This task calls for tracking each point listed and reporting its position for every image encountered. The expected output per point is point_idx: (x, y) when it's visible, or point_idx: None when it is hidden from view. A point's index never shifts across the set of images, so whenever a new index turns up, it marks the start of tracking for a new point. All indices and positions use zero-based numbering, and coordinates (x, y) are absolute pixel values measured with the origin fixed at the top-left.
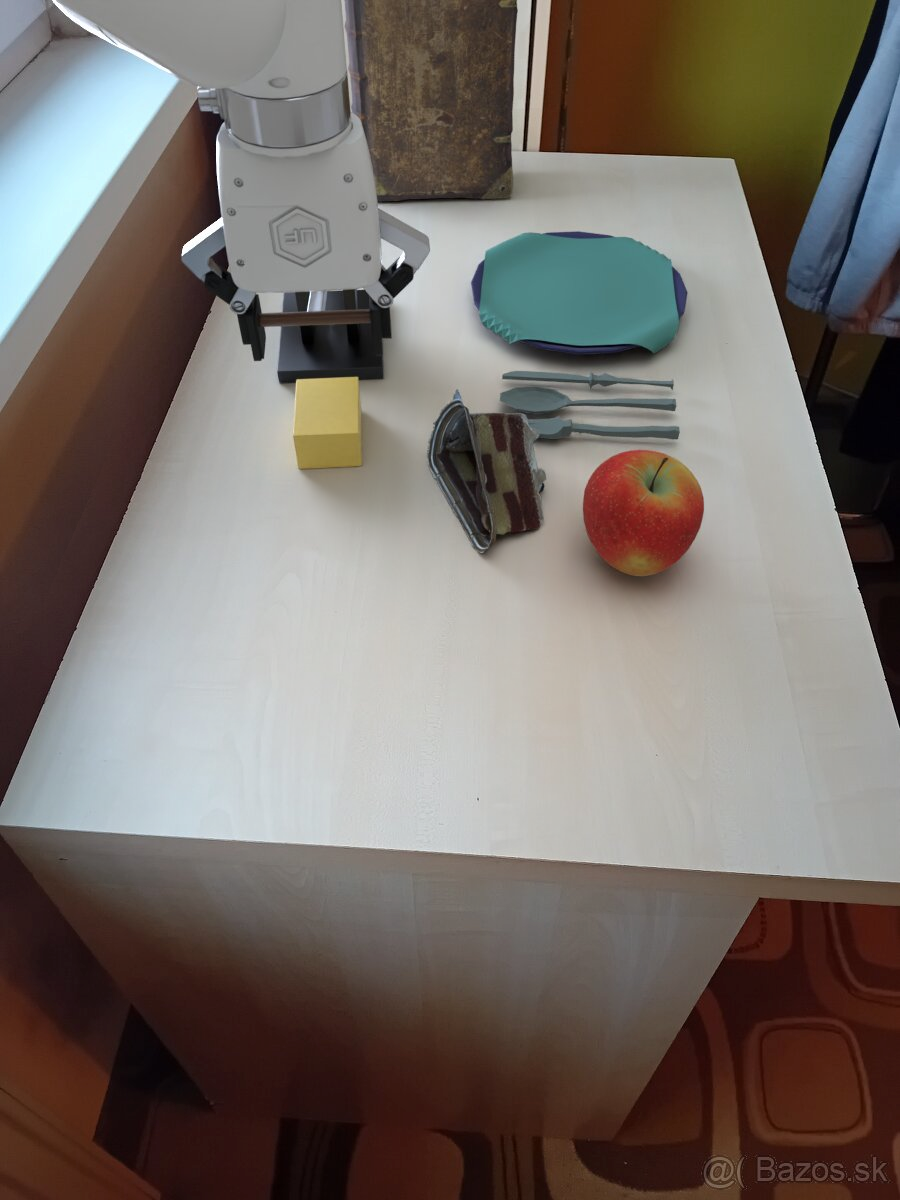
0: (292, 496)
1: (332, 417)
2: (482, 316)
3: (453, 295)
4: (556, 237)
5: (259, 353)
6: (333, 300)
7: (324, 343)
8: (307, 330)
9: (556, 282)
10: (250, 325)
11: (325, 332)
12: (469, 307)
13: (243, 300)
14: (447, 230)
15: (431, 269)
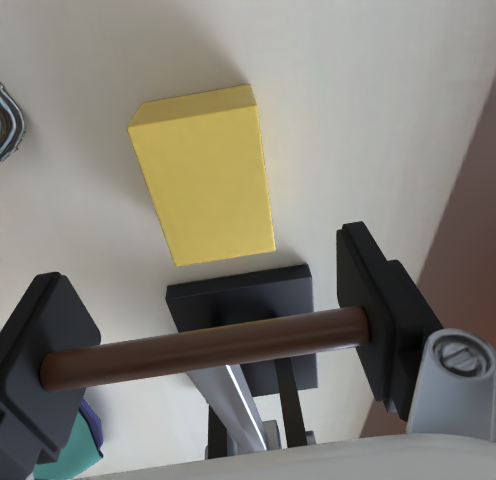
0: (247, 2)
1: (191, 167)
2: None
3: (128, 403)
4: (36, 477)
5: (351, 235)
6: (257, 384)
7: None
8: None
9: None
10: (397, 297)
11: None
12: (103, 392)
13: (450, 381)
14: (165, 464)
15: (165, 427)
